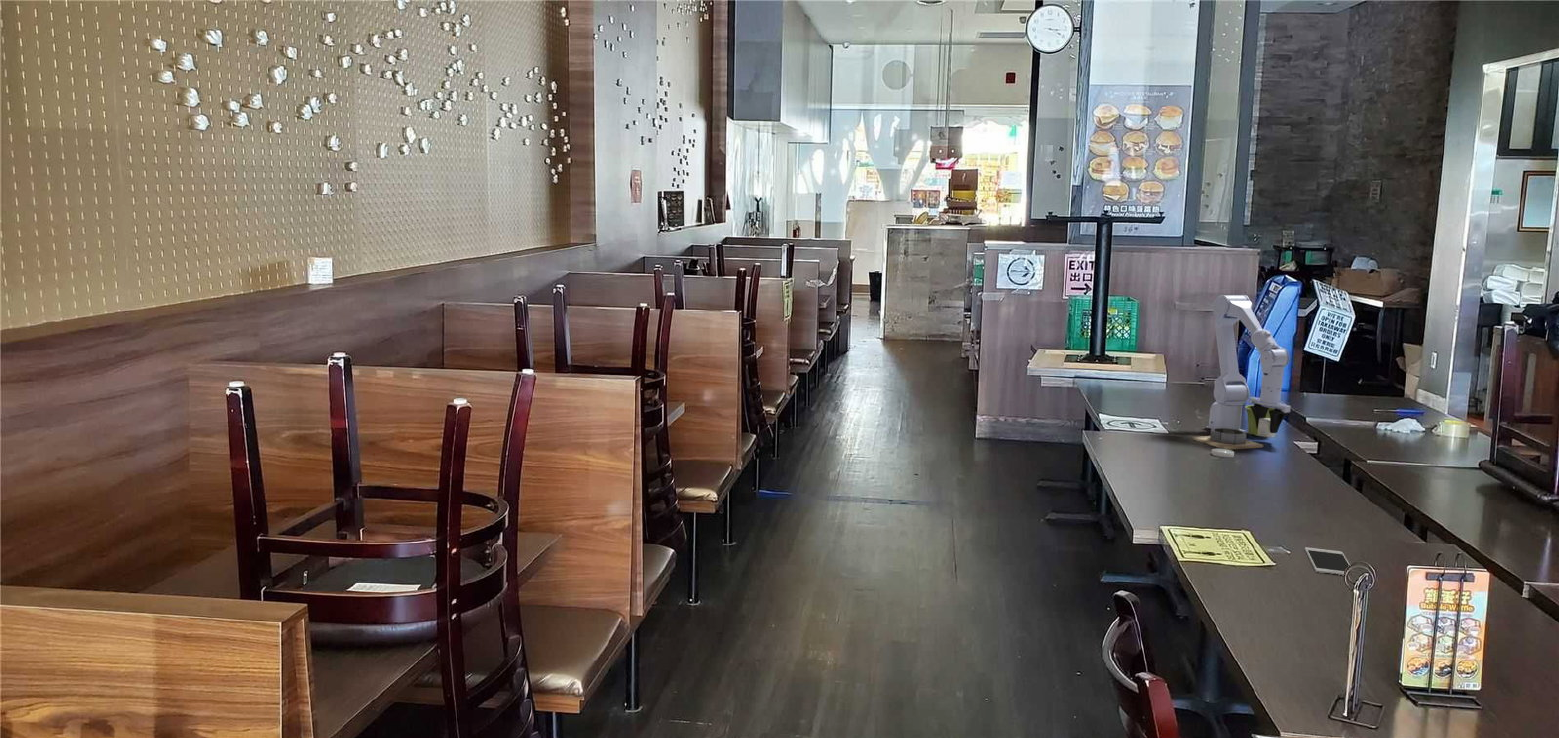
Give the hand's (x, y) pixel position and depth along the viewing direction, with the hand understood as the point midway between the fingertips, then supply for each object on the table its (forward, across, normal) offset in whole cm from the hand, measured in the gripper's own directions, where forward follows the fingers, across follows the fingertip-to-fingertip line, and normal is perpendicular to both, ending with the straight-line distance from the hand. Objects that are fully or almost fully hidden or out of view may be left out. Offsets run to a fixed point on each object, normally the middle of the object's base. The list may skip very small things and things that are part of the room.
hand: (1266, 430), depth 325 cm
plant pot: (+4, -10, +7) cm, 13 cm away
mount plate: (+4, -2, -13) cm, 14 cm away
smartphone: (+4, +92, -74) cm, 118 cm away
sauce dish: (+4, +10, -26) cm, 28 cm away
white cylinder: (+2, 0, 0) cm, 2 cm away
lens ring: (+4, -2, -13) cm, 14 cm away
